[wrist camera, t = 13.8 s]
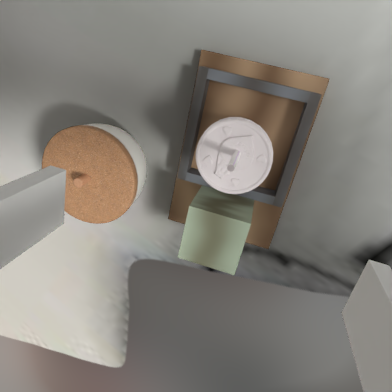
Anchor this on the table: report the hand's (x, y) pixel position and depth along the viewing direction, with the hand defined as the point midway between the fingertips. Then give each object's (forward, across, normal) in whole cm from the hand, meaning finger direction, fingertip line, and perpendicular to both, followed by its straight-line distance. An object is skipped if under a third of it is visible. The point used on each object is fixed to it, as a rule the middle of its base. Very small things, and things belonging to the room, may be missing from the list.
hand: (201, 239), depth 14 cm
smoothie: (+23, 0, 0) cm, 23 cm away
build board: (+24, 0, +2) cm, 24 cm away
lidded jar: (+24, +15, +7) cm, 29 cm away
